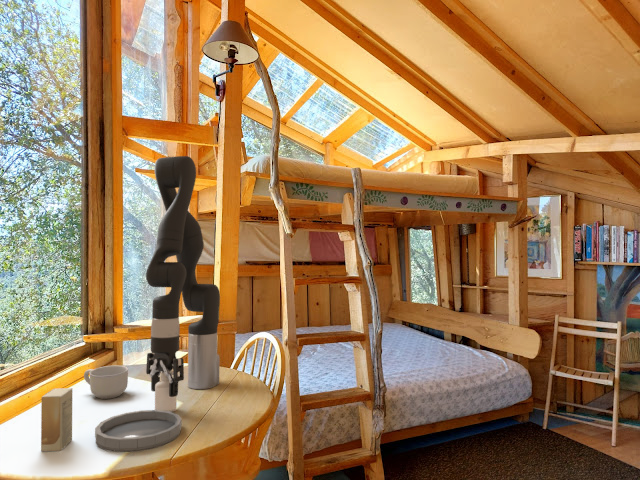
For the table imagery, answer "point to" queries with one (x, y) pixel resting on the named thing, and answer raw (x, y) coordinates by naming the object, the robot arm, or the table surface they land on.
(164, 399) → the eye dropper bottle
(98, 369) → the teacup
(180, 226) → the robot arm
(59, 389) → the skincare box
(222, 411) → the table surface
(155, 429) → the round tray
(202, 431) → the table surface
